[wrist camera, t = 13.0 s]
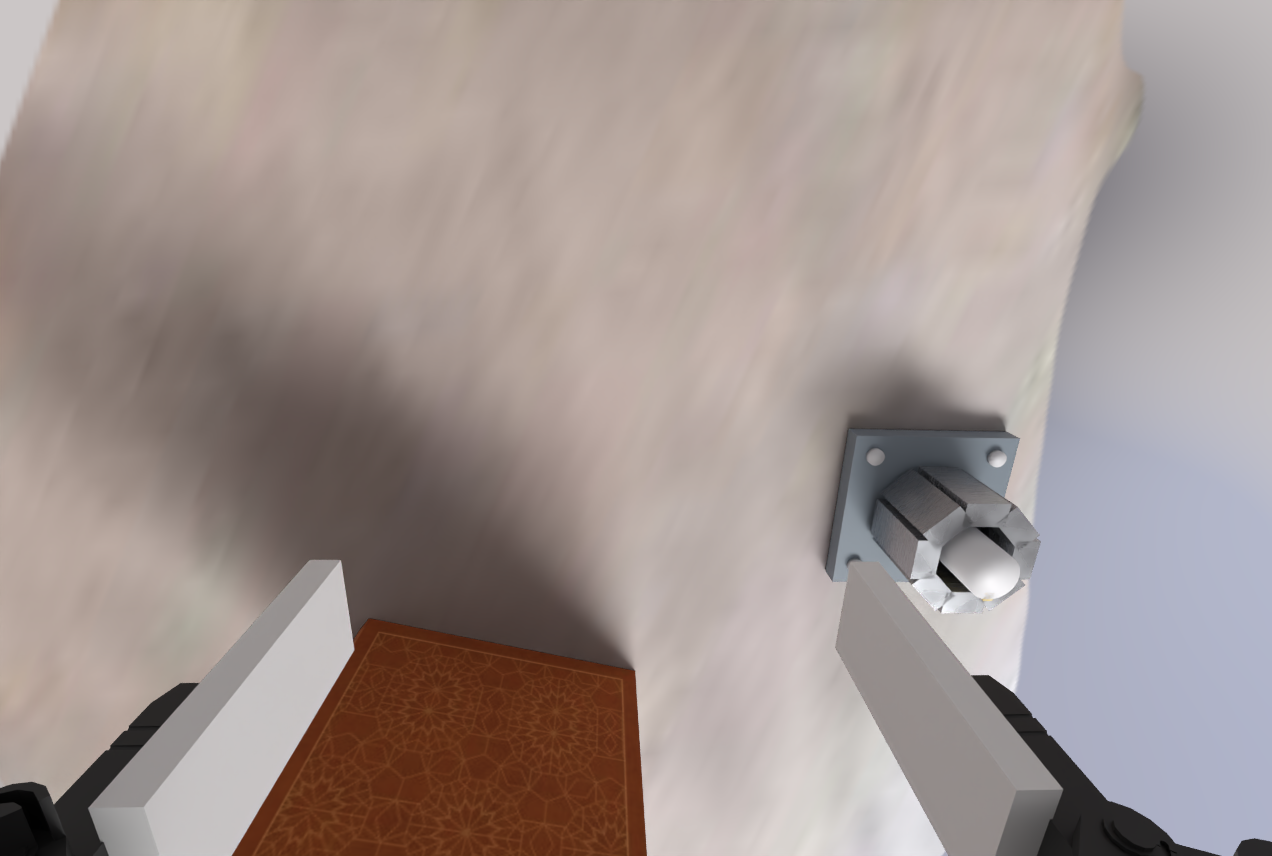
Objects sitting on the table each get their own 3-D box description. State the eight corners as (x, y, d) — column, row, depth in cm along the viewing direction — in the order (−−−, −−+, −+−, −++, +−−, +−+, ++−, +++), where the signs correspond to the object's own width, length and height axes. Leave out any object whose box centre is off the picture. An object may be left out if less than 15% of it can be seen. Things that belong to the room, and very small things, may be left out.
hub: (883, 465, 42) (926, 503, 36) (991, 467, 42) (1051, 504, 36) (864, 563, 44) (903, 613, 38) (967, 564, 45) (1019, 612, 39)
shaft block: (848, 428, 43) (917, 485, 33) (1006, 431, 43) (1117, 488, 34) (825, 570, 47) (881, 658, 37) (970, 571, 47) (1061, 657, 38)
